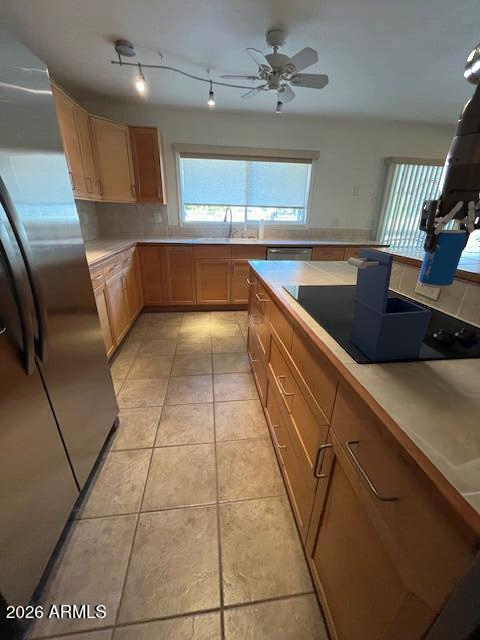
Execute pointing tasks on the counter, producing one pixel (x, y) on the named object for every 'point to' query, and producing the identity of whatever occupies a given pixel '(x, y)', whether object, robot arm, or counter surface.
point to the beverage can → (443, 259)
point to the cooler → (389, 329)
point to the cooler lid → (373, 277)
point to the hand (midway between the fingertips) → (443, 251)
